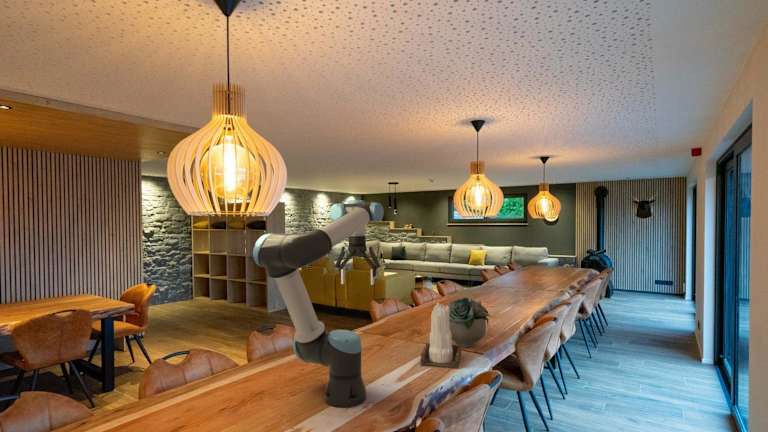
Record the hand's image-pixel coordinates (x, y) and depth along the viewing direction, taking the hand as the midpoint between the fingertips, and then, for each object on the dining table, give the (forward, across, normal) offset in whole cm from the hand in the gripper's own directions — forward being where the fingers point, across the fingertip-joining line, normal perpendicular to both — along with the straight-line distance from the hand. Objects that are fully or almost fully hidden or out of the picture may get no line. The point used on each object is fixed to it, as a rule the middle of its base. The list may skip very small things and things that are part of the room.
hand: (357, 284), depth 178 cm
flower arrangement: (+37, -43, -45) cm, 72 cm away
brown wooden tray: (+37, -34, -18) cm, 53 cm away
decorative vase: (+36, -34, -17) cm, 52 cm away
